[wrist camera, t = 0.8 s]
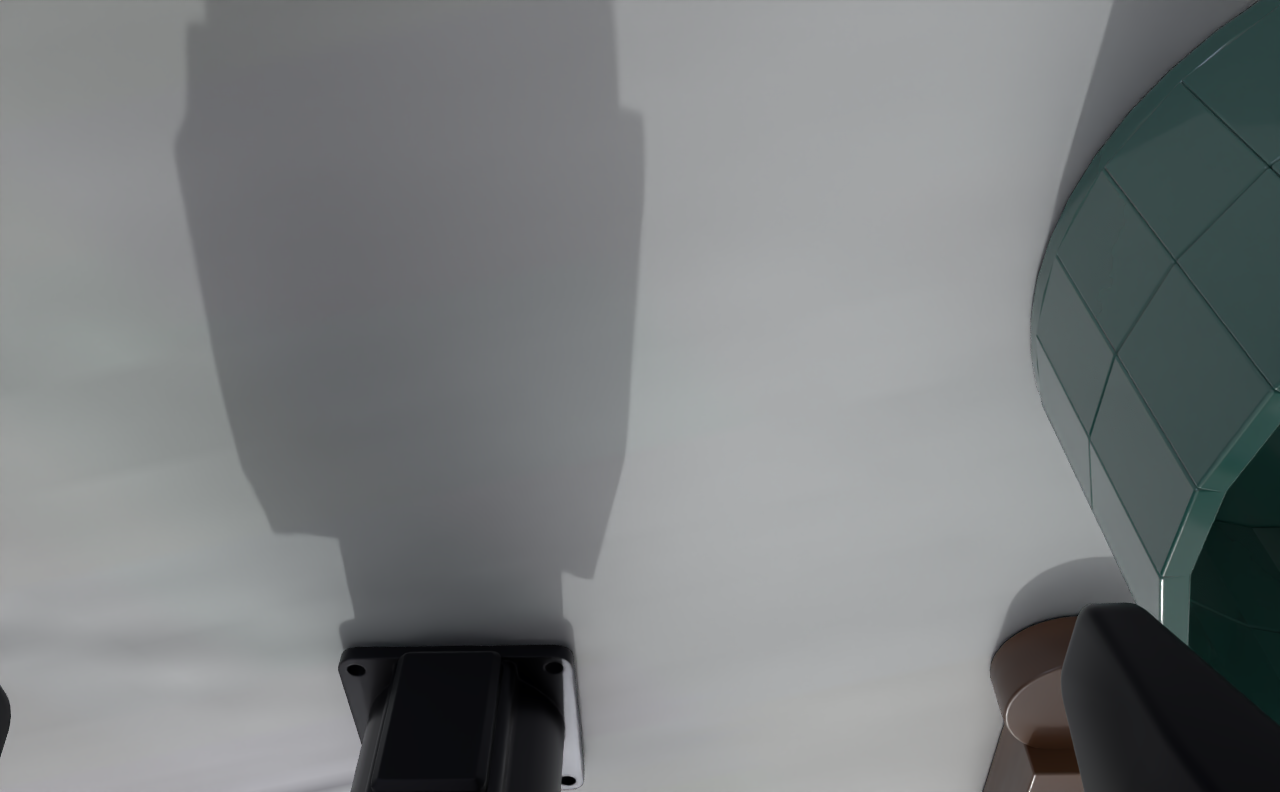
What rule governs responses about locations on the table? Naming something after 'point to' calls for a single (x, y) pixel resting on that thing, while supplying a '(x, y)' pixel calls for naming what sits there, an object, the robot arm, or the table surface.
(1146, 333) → the dark green bowl
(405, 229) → the table surface
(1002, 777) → the walnut spoon
